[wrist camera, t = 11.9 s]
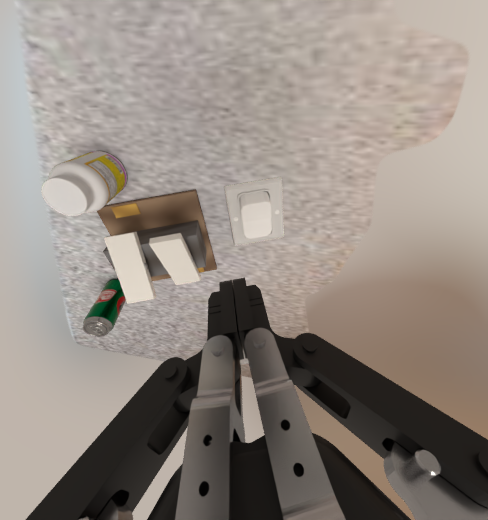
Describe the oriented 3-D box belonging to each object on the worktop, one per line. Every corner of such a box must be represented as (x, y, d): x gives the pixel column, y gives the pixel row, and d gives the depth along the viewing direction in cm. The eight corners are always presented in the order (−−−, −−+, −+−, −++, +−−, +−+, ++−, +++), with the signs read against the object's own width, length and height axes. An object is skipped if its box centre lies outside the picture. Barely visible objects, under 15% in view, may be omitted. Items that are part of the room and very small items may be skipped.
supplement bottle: (86, 186, 37) (36, 217, 27) (81, 144, 34) (22, 161, 23) (128, 196, 39) (97, 228, 28) (128, 157, 35) (93, 177, 25)
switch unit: (97, 206, 39) (78, 223, 33) (195, 189, 39) (192, 203, 34) (139, 280, 50) (129, 303, 44) (216, 266, 50) (217, 287, 44)
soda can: (121, 274, 48) (97, 317, 38) (135, 289, 51) (117, 332, 41) (101, 282, 49) (73, 326, 39) (117, 297, 51) (94, 341, 42)
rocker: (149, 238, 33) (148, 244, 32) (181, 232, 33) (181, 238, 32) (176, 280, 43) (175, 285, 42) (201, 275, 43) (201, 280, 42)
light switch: (285, 179, 38) (287, 243, 44) (279, 175, 41) (282, 235, 48) (224, 189, 37) (235, 252, 44) (223, 184, 41) (234, 243, 48)
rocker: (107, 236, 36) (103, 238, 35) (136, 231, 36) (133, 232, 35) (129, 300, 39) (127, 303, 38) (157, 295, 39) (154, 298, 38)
